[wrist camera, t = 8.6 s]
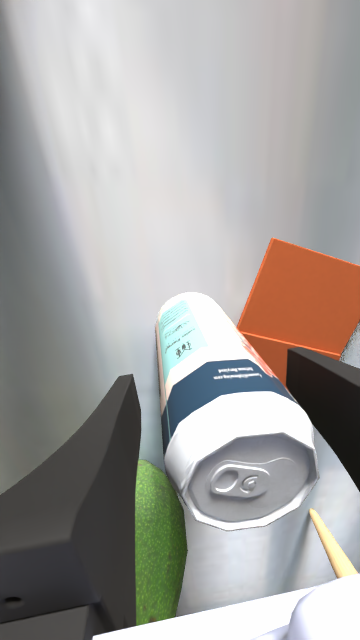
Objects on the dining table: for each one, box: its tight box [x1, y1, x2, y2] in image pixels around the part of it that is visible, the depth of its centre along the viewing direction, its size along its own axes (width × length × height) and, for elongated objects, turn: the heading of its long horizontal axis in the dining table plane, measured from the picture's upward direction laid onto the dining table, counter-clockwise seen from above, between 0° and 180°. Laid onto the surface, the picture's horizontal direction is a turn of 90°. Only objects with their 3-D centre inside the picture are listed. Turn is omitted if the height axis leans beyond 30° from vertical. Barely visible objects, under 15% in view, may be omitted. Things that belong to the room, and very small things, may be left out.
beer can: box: [155, 293, 320, 531], centre depth 13 cm, size 5×5×12 cm
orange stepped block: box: [237, 238, 360, 393], centre depth 19 cm, size 9×13×1 cm
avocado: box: [135, 460, 188, 626], centre depth 17 cm, size 8×8×12 cm
